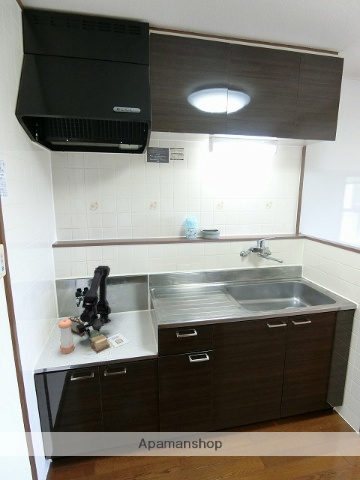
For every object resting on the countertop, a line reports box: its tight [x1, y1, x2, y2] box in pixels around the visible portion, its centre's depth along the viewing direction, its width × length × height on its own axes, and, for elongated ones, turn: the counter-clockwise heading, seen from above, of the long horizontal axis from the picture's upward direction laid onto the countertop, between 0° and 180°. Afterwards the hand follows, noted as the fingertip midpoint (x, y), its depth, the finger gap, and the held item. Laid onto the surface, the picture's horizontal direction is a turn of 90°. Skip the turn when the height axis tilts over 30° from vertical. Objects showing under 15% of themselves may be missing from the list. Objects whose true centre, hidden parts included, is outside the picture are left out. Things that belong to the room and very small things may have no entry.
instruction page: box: [106, 332, 130, 349], centre depth 154 cm, size 12×9×1 cm
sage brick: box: [88, 329, 100, 342], centre depth 155 cm, size 4×4×4 cm
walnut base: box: [90, 341, 111, 354], centre depth 147 cm, size 8×8×2 cm
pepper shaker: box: [57, 318, 75, 355], centre depth 142 cm, size 7×7×19 cm
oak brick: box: [91, 334, 108, 349], centre depth 146 cm, size 6×6×4 cm
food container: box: [67, 315, 86, 337], centre depth 161 cm, size 12×6×10 cm, turn 65°
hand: (93, 336), depth 156 cm, fingers closed on sage brick, 4 cm apart
